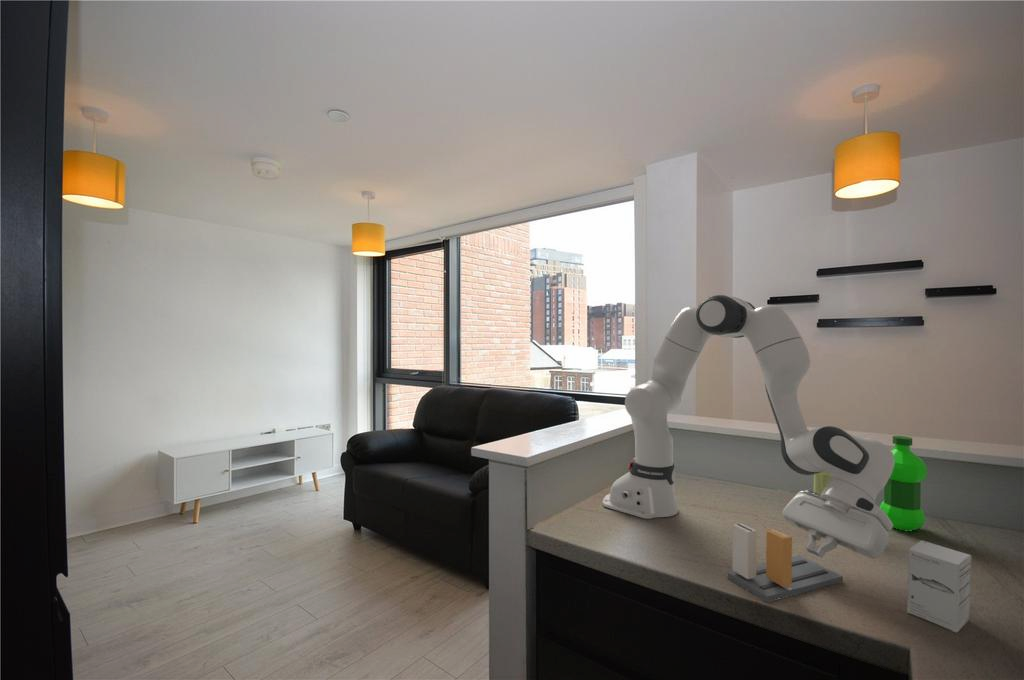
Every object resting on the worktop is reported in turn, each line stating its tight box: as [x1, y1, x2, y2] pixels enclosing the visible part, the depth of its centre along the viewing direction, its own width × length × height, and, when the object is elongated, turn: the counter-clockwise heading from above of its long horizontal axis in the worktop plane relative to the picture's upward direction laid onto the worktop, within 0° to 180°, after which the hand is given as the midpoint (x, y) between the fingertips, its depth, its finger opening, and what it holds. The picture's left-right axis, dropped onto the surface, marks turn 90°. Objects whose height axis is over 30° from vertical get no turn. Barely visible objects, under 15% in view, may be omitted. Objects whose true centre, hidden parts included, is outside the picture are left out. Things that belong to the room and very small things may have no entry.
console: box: [727, 554, 844, 603], centre depth 100 cm, size 22×10×1 cm, turn 110°
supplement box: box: [906, 540, 972, 633], centre depth 87 cm, size 7×7×13 cm
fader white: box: [732, 523, 758, 579], centre depth 99 cm, size 2×4×10 cm, turn 20°
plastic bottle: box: [879, 435, 928, 532], centre depth 126 cm, size 10×10×25 cm
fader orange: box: [765, 528, 793, 587], centre depth 96 cm, size 2×4×10 cm, turn 20°
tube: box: [813, 471, 831, 494], centre depth 129 cm, size 6×5×20 cm
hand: (813, 553), depth 99 cm, fingers closed
